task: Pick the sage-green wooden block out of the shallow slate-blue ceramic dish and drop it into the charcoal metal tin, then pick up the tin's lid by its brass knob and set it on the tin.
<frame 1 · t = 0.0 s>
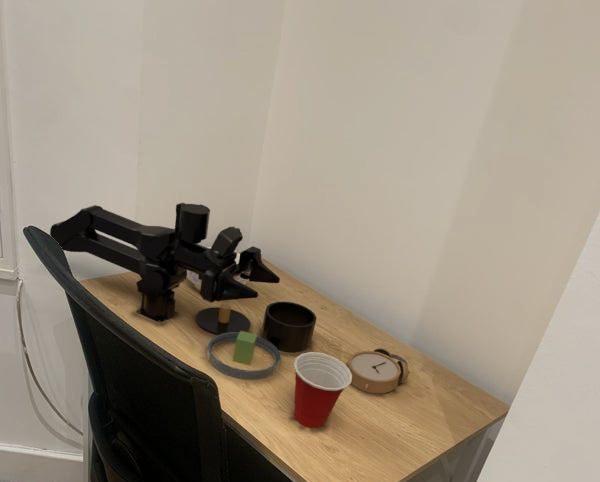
hand: (268, 287, 127), 17 cm above the table, tool horizontal, fingers open, 9 cm apart
dish: (242, 361, 134), on the table
plastic cup: (309, 421, 122), on the table
tin: (285, 341, 144), on the table
paper bowls: (214, 288, 159), on the table
green block: (243, 359, 134), resting on dish
alarm clock: (376, 378, 139), on the table
tin lid: (223, 322, 144), point 1 cm above the table
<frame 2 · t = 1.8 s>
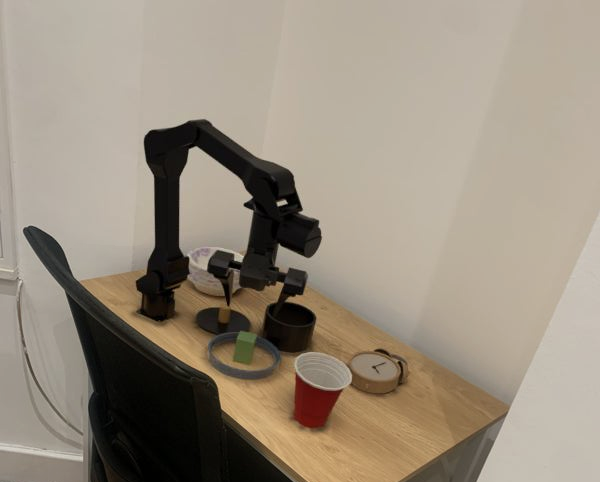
hand: (251, 311, 127), 12 cm above the table, tool pointing down, fingers open, 9 cm apart
nothing on the table moved.
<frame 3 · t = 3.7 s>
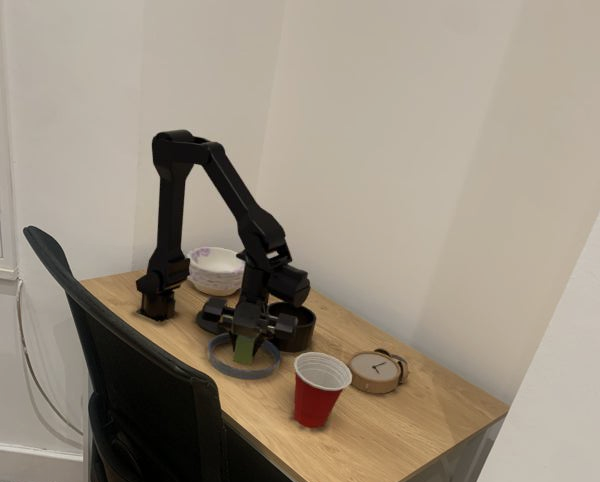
hand: (244, 353, 133), 2 cm above the table, tool pointing down, fingers closed on green block, 3 cm apart
green block: (243, 359, 134), resting on dish, touching gripper
everything else where it was.
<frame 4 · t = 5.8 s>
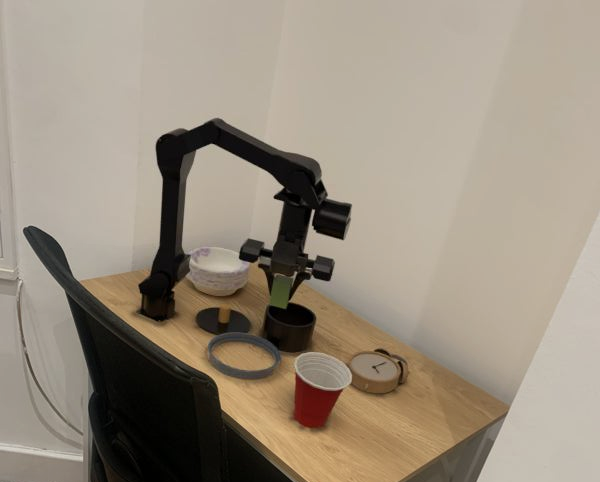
hand: (280, 297, 133), 13 cm above the table, tool pointing down, fingers closed on green block, 3 cm apart
green block: (278, 303, 134), point 11 cm above the table, touching gripper
everything else where it was.
when the fingers open (7 cm above the table, at t = 8.1 s): green block drops 5 cm, resting on tin.
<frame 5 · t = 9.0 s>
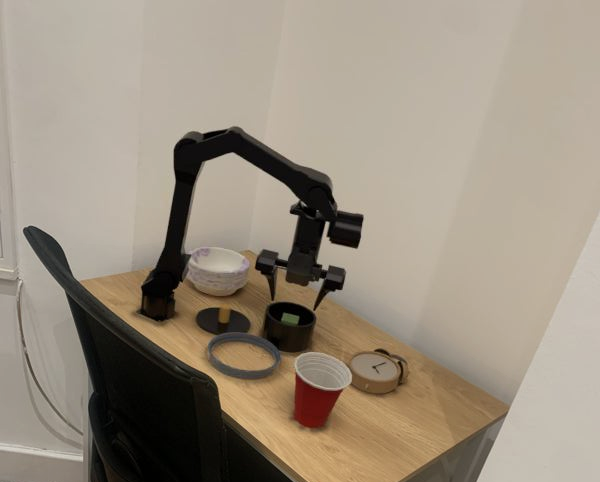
hand: (293, 305, 139), 9 cm above the table, tool pointing down, fingers open, 9 cm apart
green block: (285, 339, 144), point 1 cm above the table, touching tin
everything else where it was.
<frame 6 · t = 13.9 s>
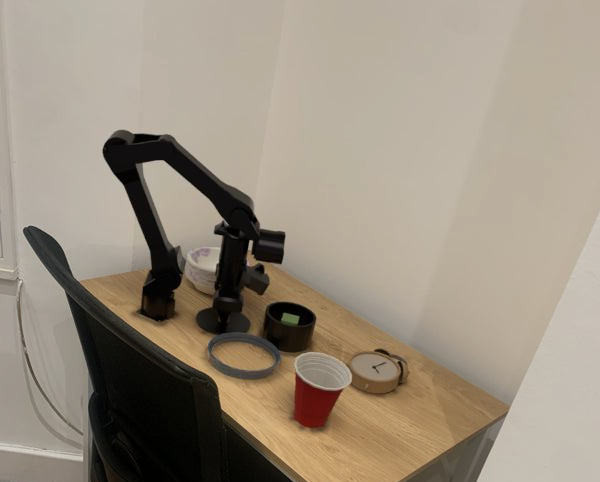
hand: (223, 320, 144), 1 cm above the table, tool pointing down, fingers closed on tin lid, 2 cm apart
tin lid: (223, 322, 144), point 1 cm above the table, touching gripper
everything else where it was.
when the fingers open (8 cm above the table, at t = 18.0 s): tin lid stays where it is, resting on tin.
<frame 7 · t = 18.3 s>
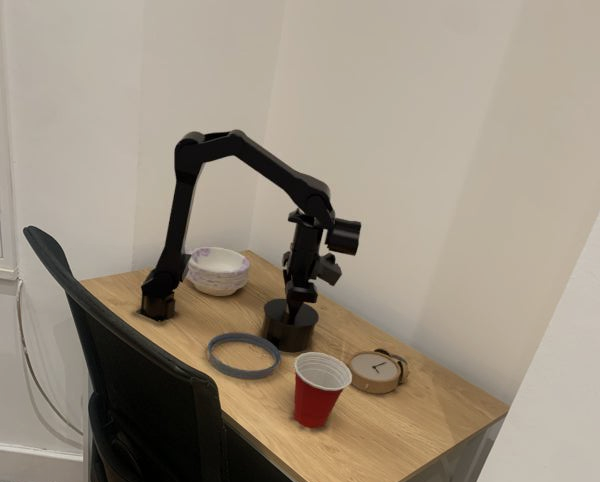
hand: (291, 311, 140), 8 cm above the table, tool pointing down, fingers open, 5 cm apart
tin lid: (291, 313, 140), point 7 cm above the table, touching gripper, tin
everything else where it was.
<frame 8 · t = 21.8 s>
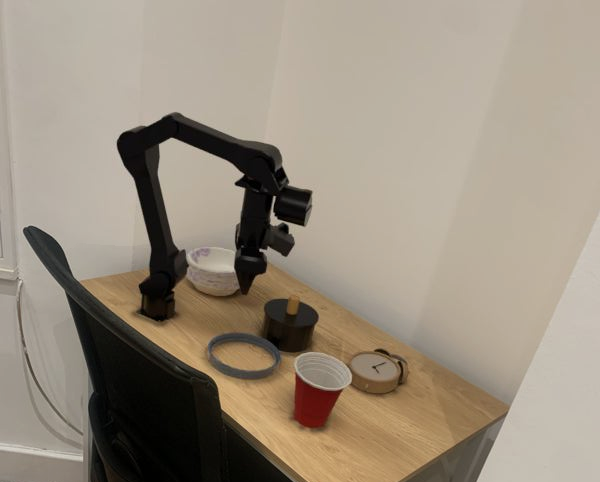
hand: (244, 284, 134), 13 cm above the table, tool pointing down, fingers open, 9 cm apart
tin lid: (291, 313, 140), point 7 cm above the table, touching tin
everything else where it was.
at the end: green block inside the target area in the tin (0.1 cm from its centre), point 0.5 cm above the tin's base; tin lid 0.0 cm off-centre on the tin, point 7.0 cm above the tin's base; tin lid tilted 0° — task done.
